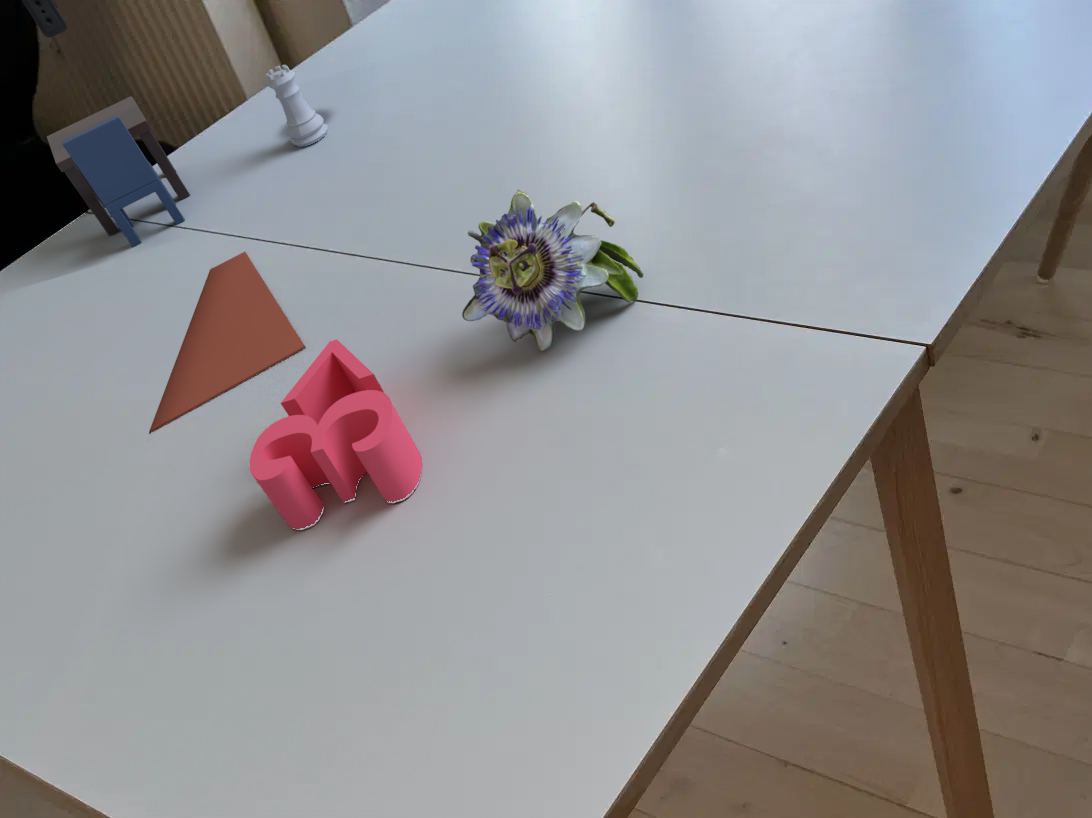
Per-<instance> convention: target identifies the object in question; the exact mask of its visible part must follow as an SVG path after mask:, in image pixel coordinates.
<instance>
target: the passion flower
mask: <svg viewBox="0 0 1092 818" xmlns="http://www.w3.org/2000/svg"><path fill="white" fill-rule="evenodd" d="M589 209H590V212H591V213H593V214H595V215H597V216H599V217H601V218H602V219H603V220H604V221H605V222H606V224H607V226H608V227H609V228H611V227H614V225H615V224H616V220H615V219H614V217H612V216H611V214H610V215H609V214H608V213H607V211H605V210H604V209H602V208H600V206H598V203H596V202H591V203H590V204H589V205H587V206H586V207H585V208H584V209H583V205H582V204H581V203H580V202H579V201H578V200H574V201H572V202H571V203H569V204H567V205H565V206H563V207H561V208H560V209H559V210H557V211H556V213H555V214H553V215H551V216H550V217H547V218H546V220H545V222H544V223H543V222H542V218H543V217H542V215H540V217H539V218H538V216H537V213H536V209H535V206H534V203H533V201H532V200H531V199H530V197H529V194H528V193H527V192H525V191H522V190H520V189H517V190H516V192H515V193H514V194H513V195H512V199H511V201H510V206H509V209H508V212H507V213H503V215H502V216H501V219H499V220H498V219H496V220H495V223H494V222H490V221H482V222H481V221H480V223H478V229H479V231H480V233H481V234H478V233H477V232H475V231H474V230H470V229H469V230H468V231H467V235H468V237H471V238H473V239H474V240H475V241H477V242H478V243H479V244H480V245H478V244H476V245H474V249H475V250H477V252H476V253H474V254H472V255H471V256H470V263H471V266H472V267H474V268H476V269H478V270H479V277H478V280H477V281H476V282H475V283H473V285H472V289H473V292H474V295H473V296H472V297H471V299H470V300H468V302H467V304H466V305H465V307H464V308H463V309H462V314H461V316H462V319H463V320H465V321H466V322H474V321H479V320H482V318H485V317H487V315H491V316H493V317H495V319H496V320H499V321H502V322H504V323H505V324H506V329H507V333H508V335H509V337H510V340H511V341H512V342H514V343H516V342H517V341H518V340H521V339H522V338H524V336H526V335H528V334H530V335H532V336H533V337H534V341H535V344H536V346H537V347H538V349H539V351H540V352H544V351H547V350H548V349H549V348H550V347H551V345H552V342H553V340H554V335H555V334H554V330H555V329H554V327H555V326H554V323H556V322H560V323H562V324H563V325H564V326H565V327H567V328H568V329H569V330H571V331H572V330H574V331H575V332H582V331H583V329H584V327H585V325H586V319H587V317H586V310H585V309H584V306H583V304H582V301H581V293H582V291H583V290H586V289H592V288H596V287H601V286H603V285H606V286H607V287H609V288H610V289H611V290H612V291H614V292H615V293H616V294H617V295H618V296H619V297H621V298H622V299H623V300H625V302H627V303H631V302H636V301H637V300H638V297H639V292H638V286H637V284H636V283H635V281H634V279H633V276H632V274H631V273H629V271H628V270H627V269H626V267H627V268H628V269H630V270H631V271H632V272H634V273H636V275H637V276H638V278H640V279H643V278H644V272H643V271H642V270H641V268H640V266H639V265H638V264H637V263H636V262H635V261H634V258H633V257H632V256H630V255H629V253H628V252H627V250H626V249H625V248H623V247H621V246H619V245H618V244H616V243H612V242H609V241H606V240H603V239H602V240H601V239H600V237H598V236H595V235H593V234H588V235H586V234H583V235H582V234H581V235H580V234H579V235H578V234H575V232H574V230H575V228H576V227H577V225H578V224H579V222H580V219H581V217H582V216H583V215H584V214H585V213H586V211H588V210H589Z"/></svg>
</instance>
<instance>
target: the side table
mask: <svg viewBox="0 0 1092 818" xmlns="http://www.w3.org/2000/svg"><path fill="white" fill-rule="evenodd" d="M116 115H119V117H120V119H121V120H122V122H123V123H124V125H125V126H126V128H127V130H128V131H129V133H130V134H131V136H132V137H133V139H134V138H136V137H138V136H139V137H140V139H141V140H142V142H143V144H144V145H145V147H146V148H147V150H148V152H149V154H150V155H151V156H152V158H153V159H154V161H155V162H156V164H157V166H158V167H159V169H160V170H161V172H162V174H163V175H164V177H165V179H166V180H167V181H168V183H169V185H170V187H171V188H172V189H173V191H174V193H175V194H176V195H177V197H178V199H179V200H180V201H181V200H184V199H185V198H187V197H190V196H191V194H190V192H189V191H188V189H187V188H186V185H185V184H184V183H183V180H182V179H181V177H180V176H179V174H178V173H177V170H176V168H175V166H174V165H173V164H172V162H171V160H170V158H169V157H168V155H167V154H166V152H165V151H164V149H163V148H162V146H161V144H160V143H159V141H158V139H157V138H156V137H155V135H154V133H153V132H152V127H151V126H150V124H149V123H148V121H147V119H146V117H145V115H144V114H143V112H142V110H141V109H140V107H139V105H138V104H137V102H136V100H135V99H134V97H133V96H132V95H131V96H128V97H126V98H124V99H121V100H120V101H118V102H116V103H114V104H112V105H110V106H107V107H105V108H103V109H101V110H99V111H97V112H95V113H92V114H91V115H89V116H86V117H84V118H82V119H80V120H79V121H76V122H74V123H72V124H70V125H68V126H65V127H64V128H61V129H59V130H57V131H55V132H53V133H50V134H49V135H46V138H47V141H48V145H49V147H50V150H51V154H52V156H53V158H54V161H55V164H56V166H57V167H58V169H59V170H60V172H61V173H64V174H65V175H66V177H67V178H68V180H69V181H70V182H71V184H72V185H73V187H74V188H75V189H76V191H77V192H78V194H79V195H80V197H81V198H82V200H83V201H84V203H85V204H86V206H88V208H89V210H90V211H91V213H92V214H93V215H94V217H95V218H96V219H97V221H98V222H99V224H100V225H101V227H102V228H103V229H104V231H105V233H106V234H107V235H108V236H109V237H111V236H112V235H114V234H116V233H118V232H120V228H119V226H118V225H117V224H116V222H115V221H114V219H113V218H112V216H111V215H110V213H109V212H108V210H107V209H106V208H105V206H104V205H103V203H102V202H101V200H100V199H99V197H98V196H97V194H96V193H95V191H94V190H93V189H92V187H91V186H90V184H89V183H88V181H87V180H86V178H85V177H84V175H83V174H82V173H81V171H80V170H79V168H78V167H77V165H76V164H75V162H74V161H73V159H72V158H71V157H70V155H69V154H68V152H67V151H66V149H65V148H64V146H63V145H62V141H64V140H66V139H68V138H70V137H72V136H74V135H76V134H79V133H81V132H83V131H85V130H87V129H89V128H91V127H93V126H95V125H97V124H99V123H101V122H103V121H106V120H108V119H110V118H112V117H114V116H116Z"/></svg>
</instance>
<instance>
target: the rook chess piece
mask: <svg viewBox="0 0 1092 818" xmlns="http://www.w3.org/2000/svg"><path fill="white" fill-rule="evenodd" d="M275 70H276V71H274V70H273V68H271V69H269V70H268V71H267V73H265V77H266V79H267V82H266V83H267V84H266V86H267V87H268V88H270V89H272V90H274V92H275V98H276V99H278V100H279V103H280V105H281V107H282V109H283V112H284V115H285V119H286V125H287V128H286V135H288V137H289V138H290V143H291V144H292V145H294V146H296V147H299V148H304V147H309V146H311V144H312V145H314V144H316V143H318V142H320V141H321V140H322V139H323V138H322V137H324V136H325V137H326V135H327V134H328V130H329V129H328V128H329V125H327V124H326V123H324V117H323V116H322V115H320V113H317V112H316V110H314V109H313V108H311V106H310V105H309V103H308V102H307V101H306V100H305V98H304V96H303V94H302V92H301V91H300V88H301V87H300V85H298V84H297V83H296V81H295V76H296V72H294V71H293V70H291V69H290V68H289V66H288V65H287V64H282V65H281V66H280V65H277V66H275ZM326 133H327V134H326ZM325 134H326V135H325ZM325 137H324V138H325ZM321 138H322V139H321ZM320 139H321V140H320ZM319 140H320V141H319ZM317 141H318V142H317ZM315 142H316V143H315ZM313 143H314V144H313ZM308 145H309V146H308Z"/></svg>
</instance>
